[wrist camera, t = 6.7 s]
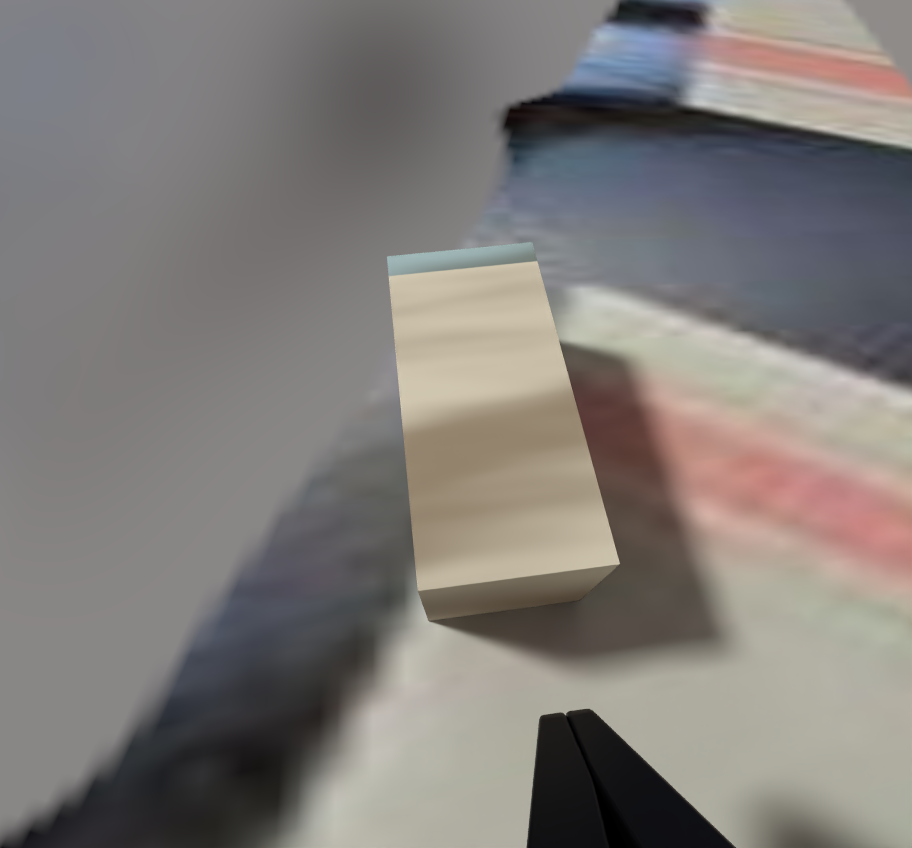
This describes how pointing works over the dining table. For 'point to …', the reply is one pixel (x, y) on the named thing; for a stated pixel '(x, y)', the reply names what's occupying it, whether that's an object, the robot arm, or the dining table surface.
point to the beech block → (492, 437)
